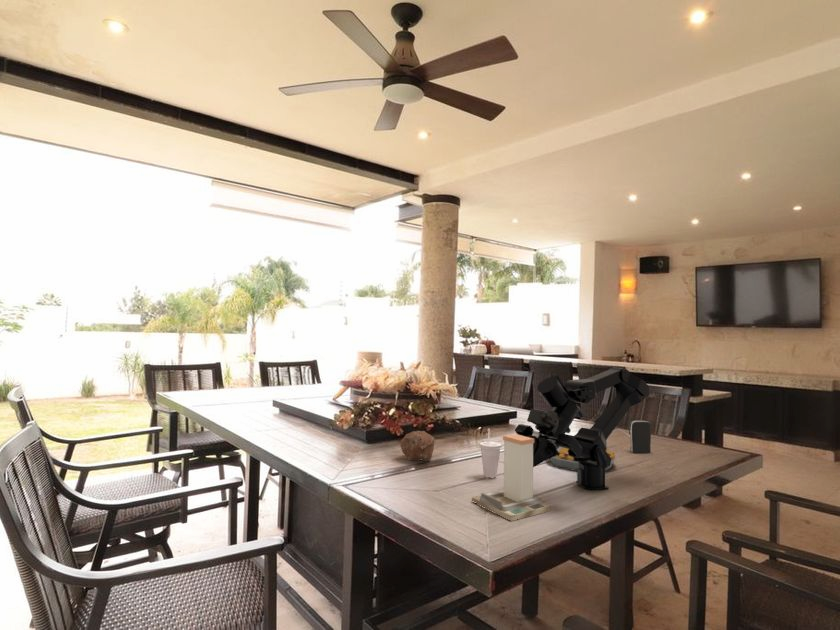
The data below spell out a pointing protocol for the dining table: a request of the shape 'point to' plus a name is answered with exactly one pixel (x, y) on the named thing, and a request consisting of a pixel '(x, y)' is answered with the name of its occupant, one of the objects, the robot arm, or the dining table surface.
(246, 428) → the dining table surface
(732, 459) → the dining table surface
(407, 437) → the decorative rock
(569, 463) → the pie
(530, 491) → the white rectangular tower
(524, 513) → the switch base
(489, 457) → the smoothie
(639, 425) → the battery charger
